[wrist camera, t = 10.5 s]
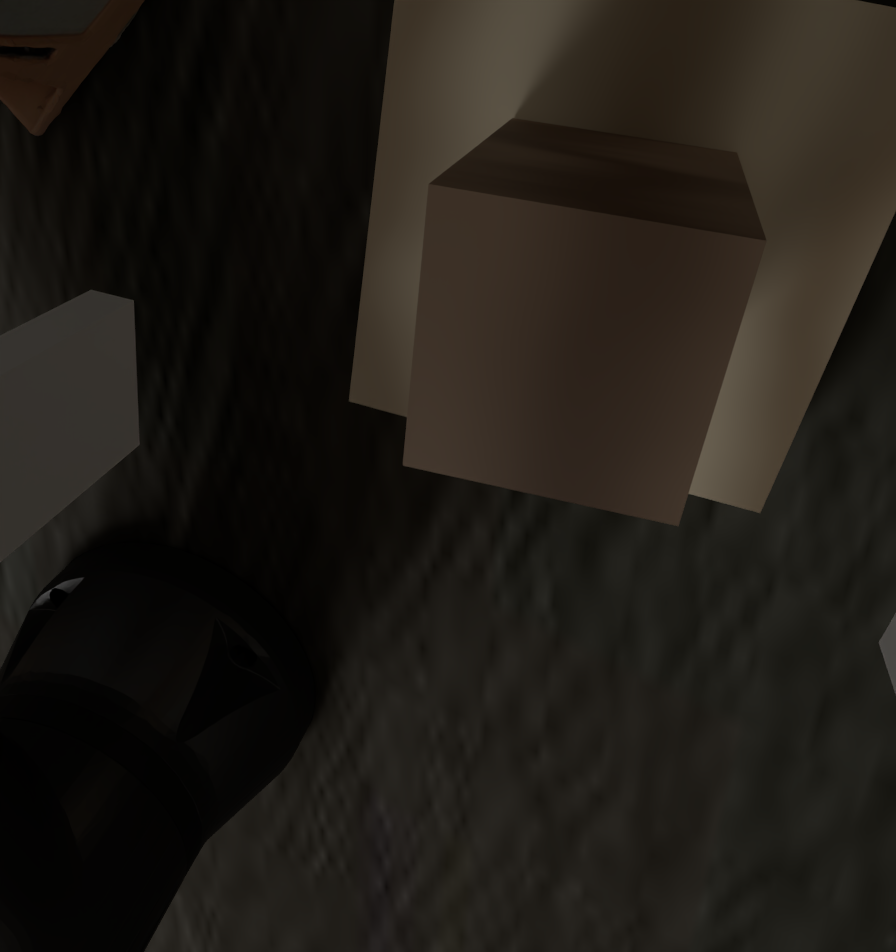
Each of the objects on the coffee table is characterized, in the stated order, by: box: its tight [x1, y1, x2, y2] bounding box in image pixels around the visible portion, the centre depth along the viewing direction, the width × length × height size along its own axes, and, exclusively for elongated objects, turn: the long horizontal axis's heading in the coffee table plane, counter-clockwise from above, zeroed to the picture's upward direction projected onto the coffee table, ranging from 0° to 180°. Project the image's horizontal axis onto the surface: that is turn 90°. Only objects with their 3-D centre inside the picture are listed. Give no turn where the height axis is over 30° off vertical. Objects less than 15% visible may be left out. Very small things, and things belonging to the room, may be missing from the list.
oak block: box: [349, 0, 896, 513], centre depth 26 cm, size 14×14×5 cm
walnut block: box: [403, 118, 767, 526], centre depth 20 cm, size 6×6×9 cm
